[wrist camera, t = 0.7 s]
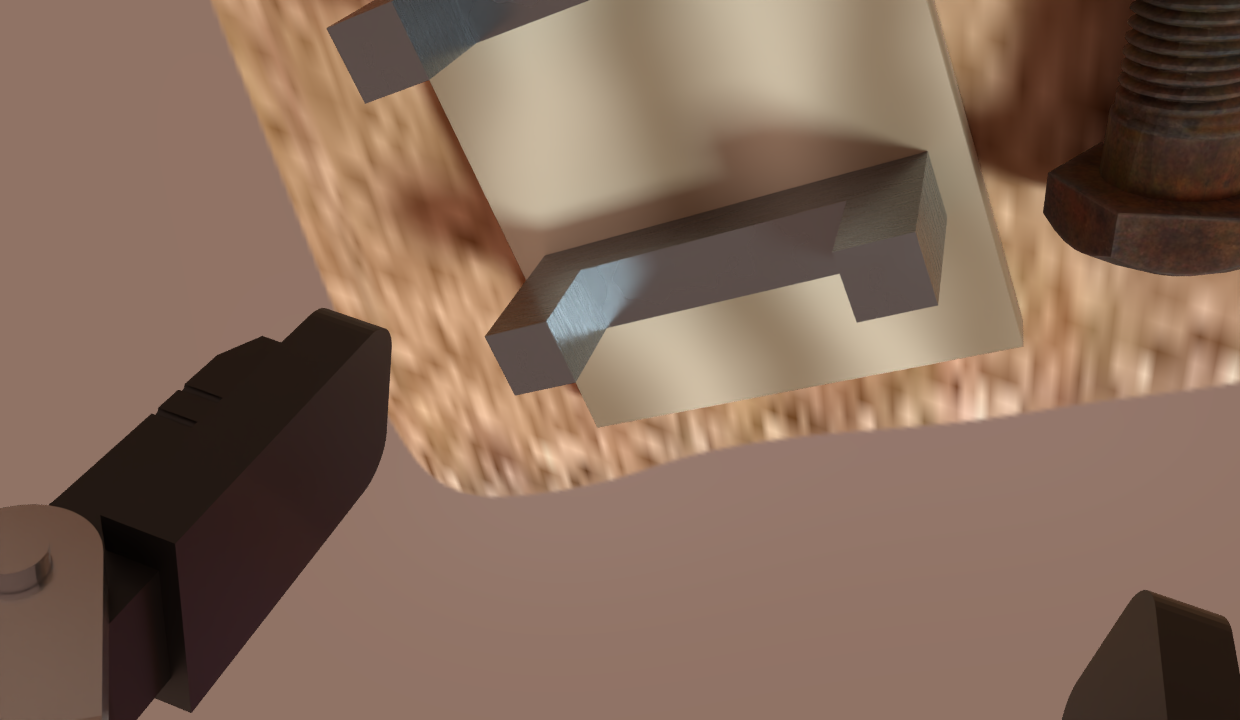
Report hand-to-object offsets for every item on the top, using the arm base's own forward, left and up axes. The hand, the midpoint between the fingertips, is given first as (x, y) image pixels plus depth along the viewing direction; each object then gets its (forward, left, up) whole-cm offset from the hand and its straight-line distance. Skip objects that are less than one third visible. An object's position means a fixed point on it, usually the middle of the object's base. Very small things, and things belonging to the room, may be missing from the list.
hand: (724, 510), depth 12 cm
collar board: (+6, +1, -22) cm, 23 cm away
